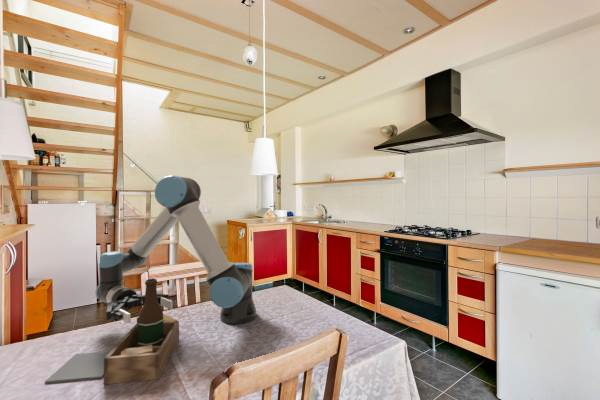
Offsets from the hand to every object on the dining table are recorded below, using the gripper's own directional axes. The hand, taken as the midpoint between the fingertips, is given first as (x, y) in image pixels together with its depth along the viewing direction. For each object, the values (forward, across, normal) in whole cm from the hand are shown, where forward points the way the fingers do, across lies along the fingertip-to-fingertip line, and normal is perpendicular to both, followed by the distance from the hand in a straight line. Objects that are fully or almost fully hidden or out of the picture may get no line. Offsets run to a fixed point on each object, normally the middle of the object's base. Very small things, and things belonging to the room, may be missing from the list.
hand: (151, 311), depth 92 cm
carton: (-17, -11, -14) cm, 25 cm away
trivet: (-9, +15, -14) cm, 22 cm away
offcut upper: (+6, +7, -11) cm, 14 cm away
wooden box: (+2, +3, -14) cm, 14 cm away
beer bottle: (-1, 0, -14) cm, 14 cm away
